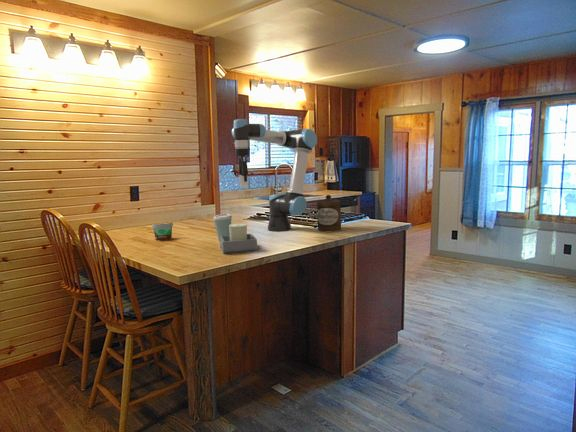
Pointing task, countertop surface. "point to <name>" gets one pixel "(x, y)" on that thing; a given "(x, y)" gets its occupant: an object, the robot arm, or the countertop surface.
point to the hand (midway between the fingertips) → (243, 187)
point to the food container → (163, 231)
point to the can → (238, 232)
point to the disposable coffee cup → (222, 224)
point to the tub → (238, 244)
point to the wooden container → (329, 214)
